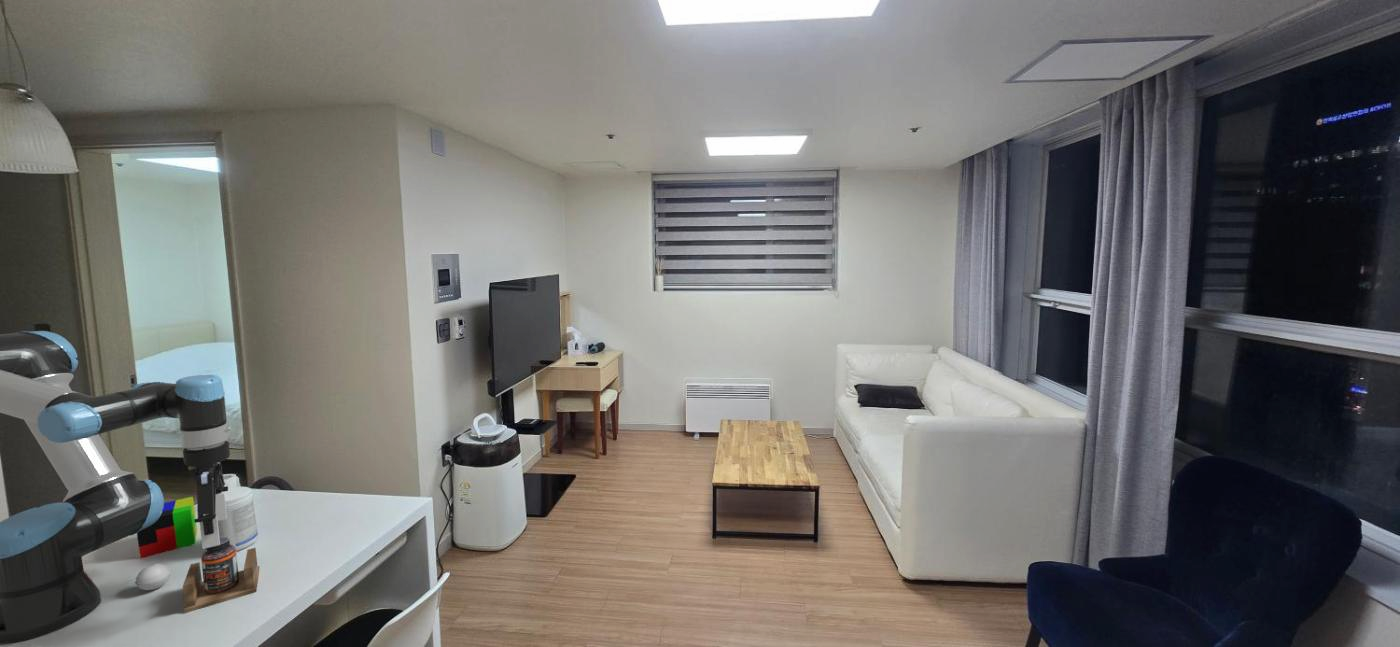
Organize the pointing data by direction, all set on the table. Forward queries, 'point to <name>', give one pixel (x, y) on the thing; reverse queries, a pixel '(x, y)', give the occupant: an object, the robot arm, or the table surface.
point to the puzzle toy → (169, 529)
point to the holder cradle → (200, 598)
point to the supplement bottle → (220, 567)
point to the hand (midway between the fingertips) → (215, 532)
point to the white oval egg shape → (152, 577)
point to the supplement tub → (239, 518)
